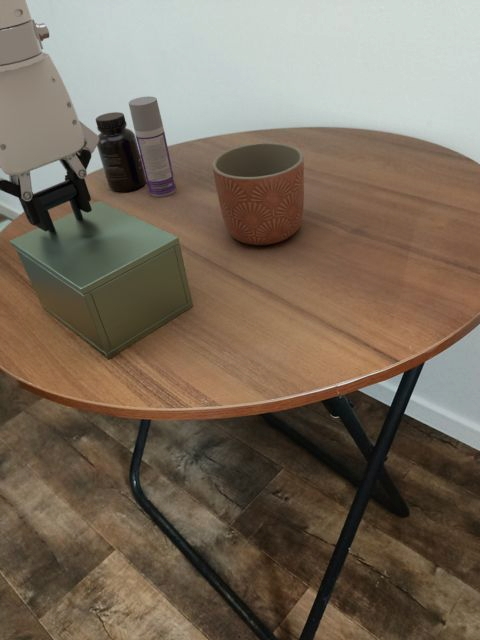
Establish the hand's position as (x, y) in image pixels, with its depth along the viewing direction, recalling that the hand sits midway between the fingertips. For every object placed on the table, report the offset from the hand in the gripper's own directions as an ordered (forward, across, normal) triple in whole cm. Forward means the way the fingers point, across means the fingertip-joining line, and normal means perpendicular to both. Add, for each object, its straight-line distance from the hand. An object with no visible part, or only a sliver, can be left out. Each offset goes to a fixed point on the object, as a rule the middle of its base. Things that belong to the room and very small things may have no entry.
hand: (63, 216), depth 63 cm
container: (+11, -25, -17) cm, 32 cm away
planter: (+11, -25, +8) cm, 29 cm away
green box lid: (+2, 0, +6) cm, 6 cm away
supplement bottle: (+11, -23, -25) cm, 35 cm away
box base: (+11, 0, +6) cm, 12 cm away
